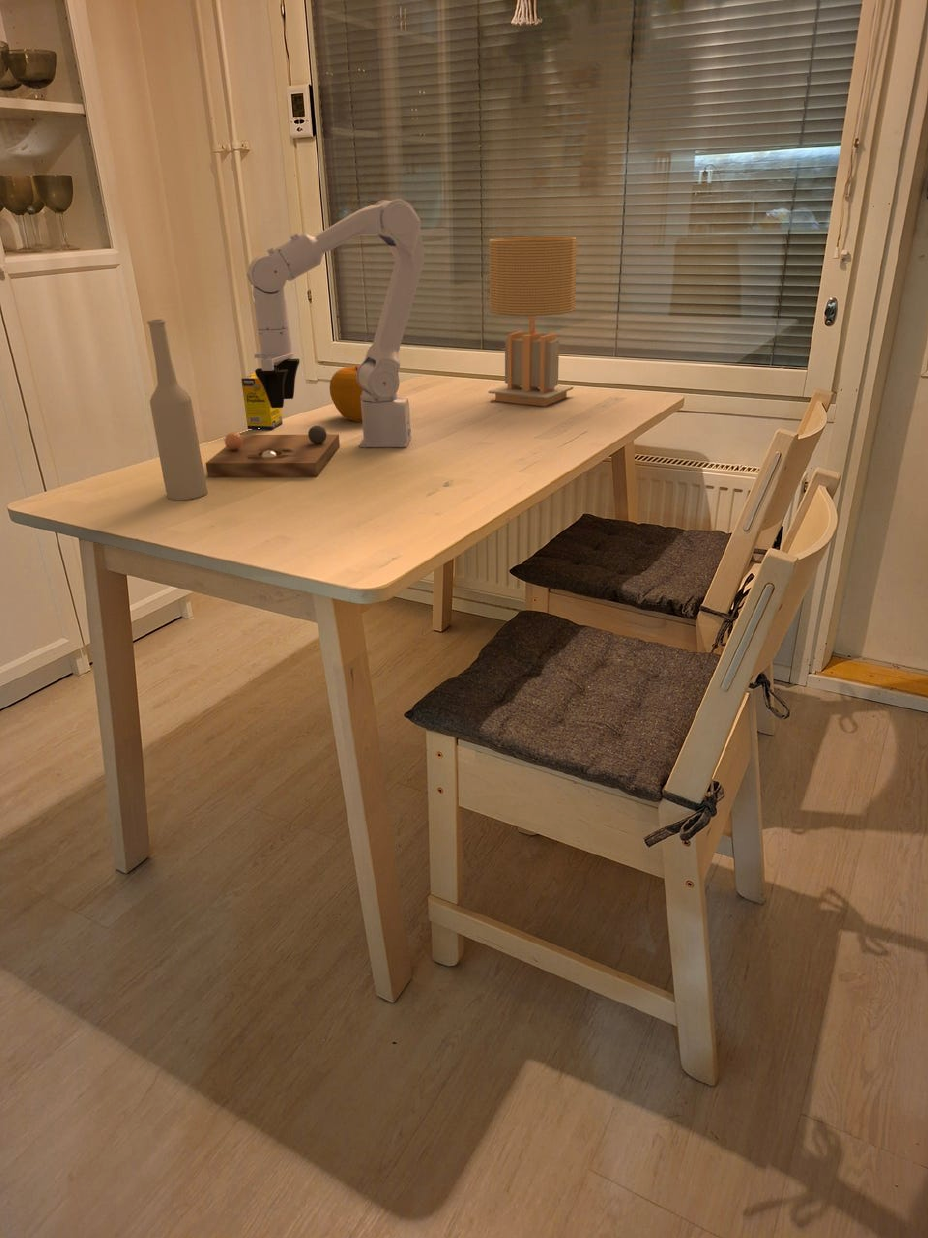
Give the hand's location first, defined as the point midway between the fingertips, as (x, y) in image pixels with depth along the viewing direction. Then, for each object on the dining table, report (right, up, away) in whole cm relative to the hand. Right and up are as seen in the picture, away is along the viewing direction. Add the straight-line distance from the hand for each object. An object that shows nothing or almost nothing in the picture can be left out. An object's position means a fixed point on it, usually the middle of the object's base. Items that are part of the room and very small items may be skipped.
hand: (282, 403), depth 159 cm
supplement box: (-9, +1, +25) cm, 27 cm away
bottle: (-12, -20, -17) cm, 29 cm away
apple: (+11, +4, +30) cm, 32 cm away
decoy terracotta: (-9, -8, -2) cm, 12 cm away
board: (-1, -11, 0) cm, 11 cm away
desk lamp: (+51, +12, +44) cm, 68 cm away
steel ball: (-1, -11, -4) cm, 12 cm away
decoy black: (+7, -6, 0) cm, 9 cm away
